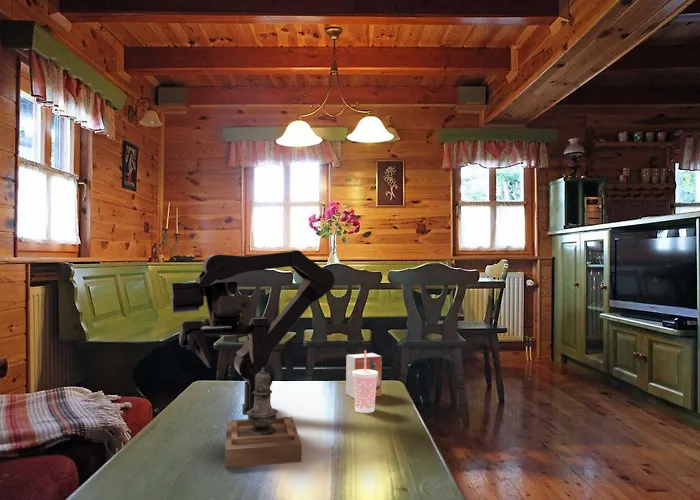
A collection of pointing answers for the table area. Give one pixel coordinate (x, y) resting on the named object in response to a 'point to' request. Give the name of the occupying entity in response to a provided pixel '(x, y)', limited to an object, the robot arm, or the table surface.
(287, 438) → the walnut plinth
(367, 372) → the beverage cup
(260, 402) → the antique pepper shaker
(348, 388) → the small box
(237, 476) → the table surface
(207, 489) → the table surface
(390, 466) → the table surface
